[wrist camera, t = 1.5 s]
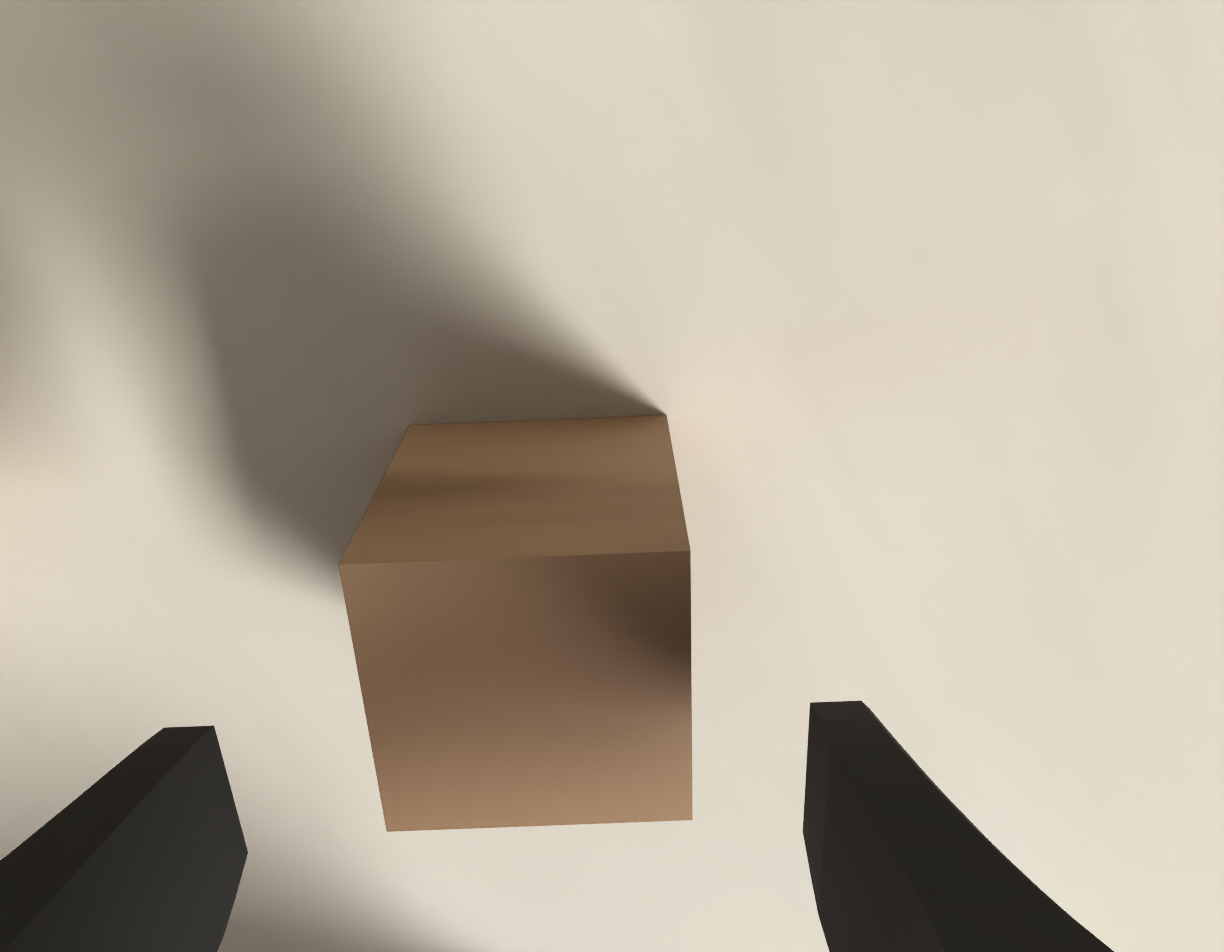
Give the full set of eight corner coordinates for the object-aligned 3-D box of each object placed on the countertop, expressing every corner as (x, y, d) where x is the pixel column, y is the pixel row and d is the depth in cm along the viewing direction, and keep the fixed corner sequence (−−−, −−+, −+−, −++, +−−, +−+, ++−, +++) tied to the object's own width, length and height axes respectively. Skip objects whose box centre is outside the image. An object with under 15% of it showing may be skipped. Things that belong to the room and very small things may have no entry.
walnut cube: (670, 630, 19) (692, 819, 14) (439, 639, 19) (387, 831, 14) (666, 413, 17) (690, 550, 12) (410, 423, 17) (338, 565, 12)
